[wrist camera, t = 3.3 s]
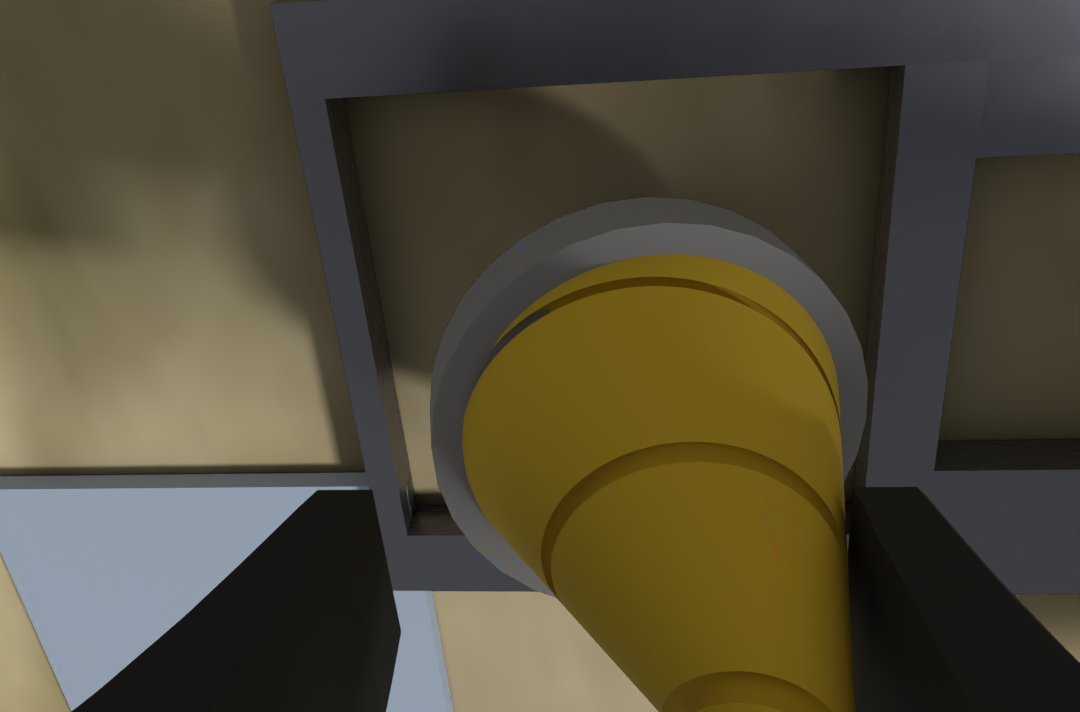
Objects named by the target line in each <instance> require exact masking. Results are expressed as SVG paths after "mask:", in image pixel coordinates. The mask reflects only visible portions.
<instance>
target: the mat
mask: <svg viewBox="0 0 1080 712" xmlns="http://www.w3.org/2000/svg"><path fill="white" fill-rule="evenodd" d="M407 487H408V486H407ZM407 487H406V490H407ZM317 490H369V486H368V481H367V476H366V472H363V473H266V474H170V475H73V476H0V553H1V555H2V557H3V559H4V562H5V564H6V566H7V568H8V570H9V573H10V575H11V577H12V579H13V582H14V584H15V586H16V588H17V591H18V593H19V595H20V597H21V600H22V602H23V604H24V606H25V608H26V611H27V613H28V615H29V617H30V620H31V622H32V624H33V626H34V629H35V631H36V633H37V635H38V638H39V640H40V642H41V644H42V646H43V649H44V651H45V653H46V655H47V658H48V660H49V662H50V664H51V667H52V669H53V671H54V673H55V676H56V678H57V680H58V682H59V685H60V687H61V689H62V691H63V693H64V696H65V698H66V700H67V702H68V705H69V707H70V709H71V711H73V710H74V709H75V708H77V707H78V706H79V705H80V704H82V703H83V702H84V701H85V700H87V699H88V698H89V697H90V696H92V695H93V694H94V693H95V692H97V691H98V690H99V689H100V688H102V687H103V686H104V685H105V684H106V683H107V682H109V681H110V680H111V679H112V678H113V677H114V676H116V675H117V674H118V673H119V672H120V671H121V670H123V669H124V668H125V667H126V666H127V665H128V664H130V663H131V662H132V661H133V660H134V659H135V658H137V657H138V656H139V655H140V654H141V653H142V652H144V651H145V650H146V649H147V648H148V647H149V646H151V645H152V644H153V643H154V642H155V641H156V640H158V639H159V638H160V637H161V636H162V635H163V634H165V633H166V632H167V631H168V630H169V629H170V628H171V627H173V626H174V625H175V624H176V623H177V622H178V621H180V620H181V619H182V618H183V617H184V616H185V615H186V614H187V613H188V612H190V611H191V610H192V609H193V608H194V607H195V606H196V605H197V604H198V603H199V602H200V601H201V600H202V599H203V598H204V597H206V596H207V595H208V594H209V593H210V592H211V591H212V590H213V589H214V588H215V587H216V586H217V585H218V584H219V583H220V582H221V581H223V580H224V579H225V578H226V577H227V576H228V575H229V574H230V573H231V572H232V571H233V570H234V569H235V568H236V567H237V566H239V565H240V564H241V563H242V562H243V561H244V560H245V559H246V558H247V557H248V556H249V555H250V554H251V553H252V552H253V551H254V550H255V549H256V548H257V547H258V546H259V545H260V544H261V543H262V542H263V541H264V540H265V539H266V538H267V537H268V536H269V535H271V534H272V533H273V532H274V531H275V530H276V529H277V528H278V527H279V526H280V525H281V524H282V523H283V522H284V521H285V520H286V519H287V518H288V517H289V516H290V515H291V514H292V513H293V512H294V511H295V510H296V509H297V508H298V507H299V506H301V505H302V504H303V503H304V502H305V501H306V500H307V499H308V498H309V497H310V496H311V495H312V494H314V493H315V492H316V491H317ZM407 491H408V490H407ZM408 494H409V493H408V492H407V496H408V497H409V495H408ZM408 499H409V498H408ZM409 500H410V499H409ZM409 500H408V501H409ZM409 502H410V501H409ZM409 504H410V503H409ZM409 507H410V506H409ZM411 509H412V508H411ZM411 509H410V511H411ZM411 514H412V513H411ZM411 518H412V515H411ZM412 519H413V518H412ZM393 594H394V599H395V603H396V608H397V613H398V618H399V623H400V628H401V636H400V641H399V647H398V653H397V658H396V664H395V669H394V675H393V680H392V685H391V690H390V695H389V700H388V705H387V709H386V712H454V711H453V706H452V700H451V695H450V689H449V683H448V678H447V672H446V667H445V661H444V656H443V650H442V644H441V639H440V633H439V628H438V622H437V617H436V611H435V605H434V600H433V594H432V591H393Z"/></svg>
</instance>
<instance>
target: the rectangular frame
mask: <svg viewBox="0 0 1080 712" xmlns="http://www.w3.org/2000/svg"><path fill="white" fill-rule="evenodd" d="M269 6H270V11H271V16H272V21H273V26H274V31H275V35H276V40H277V45H278V50H279V55H280V60H281V65H282V69H283V74H284V79H285V84H286V89H287V94H288V98H289V103H290V108H291V113H292V118H293V123H294V128H295V132H296V137H297V142H298V147H299V152H300V157H301V161H302V166H303V171H304V176H305V181H306V186H307V191H308V195H309V200H310V205H311V210H312V215H313V220H314V224H315V229H316V234H317V239H318V244H319V249H320V253H321V258H322V263H323V268H324V273H325V278H326V283H327V287H328V292H329V297H330V302H331V307H332V312H333V316H334V321H335V326H336V331H337V336H338V341H339V346H340V350H341V355H342V360H343V365H344V370H345V375H346V379H347V384H348V389H349V394H350V399H351V404H352V408H353V413H354V418H355V423H356V428H357V433H358V438H359V442H360V447H361V452H362V457H363V462H364V467H365V471H366V476H367V481H368V486H369V490H372V491H373V496H374V500H375V505H376V510H377V515H378V520H379V525H380V530H381V535H382V540H383V545H384V550H385V554H386V559H387V564H388V569H389V574H390V579H391V584H392V589H393V591H536V590H533V589H531V588H530V587H528V586H526V585H524V584H523V583H521V582H519V581H517V580H516V579H514V578H512V577H510V576H509V575H507V574H505V573H503V572H502V571H500V570H499V569H498V568H497V567H496V566H495V565H493V564H492V563H491V562H490V561H489V560H488V559H487V558H485V557H484V556H483V555H482V554H481V553H480V552H479V551H478V550H476V549H475V548H474V547H473V545H472V544H471V543H470V541H469V540H468V539H467V537H466V536H465V535H464V533H463V532H462V530H461V529H460V528H459V526H458V525H457V524H456V522H455V521H454V520H453V518H452V516H451V514H450V511H449V509H448V507H447V506H417V505H416V500H415V494H414V488H413V483H412V477H411V472H410V466H409V461H408V455H407V449H406V444H405V438H404V433H403V427H402V422H401V416H400V410H399V405H398V399H397V394H396V388H395V383H394V377H393V371H392V366H391V360H390V355H389V349H388V344H387V338H386V332H385V327H384V321H383V316H382V310H381V305H380V299H379V293H378V288H377V282H376V277H375V271H374V266H373V260H372V254H371V249H370V243H369V238H368V232H367V227H366V221H365V215H364V210H363V204H362V199H361V193H360V187H359V182H358V176H357V171H356V165H355V160H354V154H353V148H352V143H351V137H350V132H349V126H348V121H347V115H346V109H345V104H344V98H349V97H367V96H384V95H401V94H418V93H436V92H453V91H470V90H487V89H504V88H522V87H539V86H556V85H573V84H591V83H608V82H625V81H642V80H660V79H677V78H694V77H711V76H729V75H746V74H763V73H780V72H798V71H815V70H832V69H849V68H867V67H884V66H891V69H890V81H889V92H888V104H887V115H886V126H885V138H884V149H883V161H882V172H881V184H880V195H879V207H878V218H877V229H876V241H875V252H874V264H873V275H872V287H871V298H870V309H869V321H868V332H867V344H866V355H865V369H866V374H867V380H868V394H867V414H866V423H865V427H864V430H863V434H862V438H861V442H860V445H859V449H858V453H857V458H856V470H855V481H854V487H918V488H919V489H920V490H921V491H922V492H923V493H924V494H925V495H926V496H927V497H928V498H929V499H930V501H931V502H932V503H933V504H934V505H935V506H936V508H937V509H938V510H939V511H940V512H941V513H942V515H943V516H944V517H945V518H946V519H947V520H948V522H949V523H950V524H951V525H952V526H953V527H954V529H955V530H956V531H957V532H958V533H959V534H960V536H961V537H962V538H963V539H964V540H965V541H966V542H967V544H968V545H969V546H970V547H971V548H972V549H973V550H974V552H975V553H976V554H977V555H978V556H979V557H980V558H981V559H982V561H983V562H984V563H985V564H986V565H987V566H988V567H989V568H990V569H991V571H992V572H993V573H994V574H995V575H996V576H997V577H998V578H999V580H1000V581H1001V582H1002V583H1003V584H1004V585H1005V586H1006V587H1007V588H1008V589H1009V590H1010V591H1011V593H1012V594H1080V439H1069V440H993V441H938V438H939V431H940V423H941V416H942V408H943V401H944V393H945V386H946V379H947V371H948V364H949V356H950V349H951V341H952V334H953V327H954V319H955V312H956V304H957V297H958V289H959V282H960V275H961V267H962V260H963V252H964V245H965V237H966V230H967V223H968V215H969V208H970V200H971V193H972V185H973V178H974V171H975V163H976V158H986V157H1007V156H1029V155H1050V154H1072V153H1080V0H276V1H274V2H273V3H271V4H269ZM407 486H408V487H407ZM406 487H407V490H408V491H407V490H406ZM407 492H408V493H409V494H408V495H409V497H408V496H407ZM408 498H409V499H410V500H409V499H408ZM408 500H409V501H410V502H409V501H408ZM409 503H410V504H409ZM409 506H410V507H409ZM411 508H412V509H411ZM410 509H411V511H410ZM851 510H852V504H845V518H846V537H847V556H848V544H849V533H850V521H851ZM411 513H412V514H411ZM411 515H412V518H413V519H412V518H411Z"/></svg>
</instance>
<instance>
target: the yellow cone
mask: <svg viewBox="0 0 1080 712" xmlns="http://www.w3.org/2000/svg"><path fill="white" fill-rule="evenodd" d="M867 394H868V380H867V374H866V369H865V363H864V357H863V352H862V346H861V344H860V342H859V339H858V337H857V335H856V333H855V330H854V328H853V326H852V323H851V321H850V319H849V316H848V314H847V312H846V311H845V309H844V308H843V307H842V305H841V304H840V303H839V301H838V300H837V299H836V297H835V296H834V295H833V293H832V292H831V291H830V289H829V288H828V287H827V285H826V284H825V283H824V281H823V280H822V279H821V278H820V277H819V276H818V275H817V274H816V273H815V272H814V271H813V270H812V269H811V268H810V267H809V266H808V265H807V264H806V263H805V262H804V261H803V260H802V259H801V258H800V257H799V256H798V255H797V254H796V253H795V252H794V251H793V250H792V249H791V248H789V247H788V246H787V245H786V244H785V243H783V242H782V241H781V240H780V239H778V238H777V237H776V236H775V235H774V234H772V233H771V232H770V231H769V230H768V229H766V228H765V227H763V226H761V225H759V224H757V223H755V222H753V221H751V220H749V219H747V218H745V217H743V216H741V215H739V214H737V213H735V212H733V211H731V210H729V209H725V208H721V207H717V206H713V205H710V204H706V203H702V202H698V201H695V200H691V199H676V198H659V197H641V198H634V199H627V200H619V201H612V202H604V203H600V204H597V205H594V206H591V207H588V208H585V209H582V210H579V211H576V212H573V213H570V214H567V215H564V216H561V217H559V218H557V219H556V220H554V221H552V222H550V223H548V224H547V225H545V226H543V227H541V228H539V229H538V230H536V231H534V232H532V233H530V234H529V235H527V236H525V237H523V238H521V239H520V240H519V241H518V242H517V243H515V244H514V245H513V246H512V247H511V248H509V249H508V250H507V251H506V252H505V253H503V254H502V255H501V256H500V257H499V258H497V259H496V260H495V261H494V262H493V263H491V264H490V265H489V266H488V267H487V268H486V269H485V271H484V272H483V273H482V274H481V275H480V277H479V278H478V279H477V280H476V282H475V283H474V284H473V285H472V286H471V288H470V289H469V290H468V291H467V293H466V294H465V295H464V296H463V298H462V299H461V300H460V302H459V304H458V306H457V308H456V310H455V312H454V314H453V316H452V318H451V320H450V321H449V323H448V325H447V327H446V329H445V331H444V333H443V335H442V338H441V342H440V345H439V349H438V353H437V356H436V360H435V363H434V367H433V371H432V383H431V402H430V420H431V448H432V454H433V460H434V465H435V471H436V477H437V482H438V486H439V488H440V491H441V493H442V495H443V498H444V500H445V502H446V504H447V507H448V509H449V511H450V514H451V516H452V518H453V520H454V521H455V522H456V524H457V525H458V526H459V528H460V529H461V530H462V532H463V533H464V535H465V536H466V537H467V539H468V540H469V541H470V543H471V544H472V545H473V547H474V548H475V549H476V550H478V551H479V552H480V553H481V554H482V555H483V556H484V557H485V558H487V559H488V560H489V561H490V562H491V563H492V564H493V565H495V566H496V567H497V568H498V569H499V570H500V571H502V572H503V573H505V574H507V575H509V576H510V577H512V578H514V579H516V580H517V581H519V582H521V583H523V584H524V585H526V586H528V587H530V588H531V589H533V590H536V591H539V592H542V593H545V594H548V595H550V596H553V597H556V598H557V599H558V600H559V601H560V602H561V603H562V604H563V605H564V606H565V608H566V609H567V610H568V611H569V612H570V613H571V614H572V615H573V617H574V618H575V619H576V620H577V621H578V622H579V623H580V624H581V625H582V627H583V628H584V629H585V630H586V631H587V632H588V633H589V634H590V636H591V637H592V638H593V639H594V640H595V641H596V642H597V643H598V644H599V646H600V647H601V648H602V649H603V650H604V651H605V652H606V653H607V654H608V656H609V657H610V658H611V659H612V660H613V661H614V662H615V663H616V664H617V666H618V667H619V668H620V669H621V670H622V671H623V672H624V673H625V674H626V676H627V677H628V678H629V679H630V680H631V681H632V682H633V683H634V685H635V686H636V687H637V688H638V689H639V690H640V691H641V692H642V693H643V695H644V696H645V697H646V698H647V699H648V700H649V701H650V702H651V703H652V705H653V706H654V707H655V708H656V709H657V710H658V711H659V712H856V706H855V687H854V668H853V649H852V630H851V611H850V592H849V579H848V556H847V537H846V518H845V499H844V481H845V479H846V477H847V475H848V473H849V471H850V469H851V467H852V465H853V463H854V461H855V459H856V457H857V453H858V449H859V445H860V442H861V438H862V434H863V430H864V427H865V423H866V414H867Z"/></svg>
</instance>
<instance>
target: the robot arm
mask: <svg viewBox="0 0 1080 712" xmlns="http://www.w3.org/2000/svg"><path fill="white" fill-rule="evenodd" d="M848 579H849V592H850V611H851V630H852V649H853V668H854V687H855V706H856V712H1080V663H1079V662H1078V661H1077V660H1076V659H1075V658H1074V657H1073V656H1072V655H1071V654H1070V653H1069V652H1068V651H1067V650H1066V649H1065V648H1064V647H1063V646H1062V645H1061V644H1060V643H1059V641H1058V640H1057V639H1056V638H1055V637H1054V636H1053V635H1052V634H1051V633H1050V632H1049V631H1048V630H1047V629H1046V628H1045V627H1044V626H1043V625H1042V624H1041V623H1040V622H1039V621H1038V620H1037V619H1036V618H1035V617H1034V616H1033V615H1032V614H1031V613H1030V612H1029V611H1028V609H1027V608H1026V607H1025V606H1024V605H1023V604H1022V603H1021V602H1020V601H1019V600H1018V599H1017V598H1016V597H1015V596H1014V595H1013V594H1012V593H1011V591H1010V590H1009V589H1008V588H1007V587H1006V586H1005V585H1004V584H1003V583H1002V582H1001V581H1000V580H999V578H998V577H997V576H996V575H995V574H994V573H993V572H992V571H991V569H990V568H989V567H988V566H987V565H986V564H985V563H984V562H983V561H982V559H981V558H980V557H979V556H978V555H977V554H976V553H975V552H974V550H973V549H972V548H971V547H970V546H969V545H968V544H967V542H966V541H965V540H964V539H963V538H962V537H961V536H960V534H959V533H958V532H957V531H956V530H955V529H954V527H953V526H952V525H951V524H950V523H949V522H948V520H947V519H946V518H945V517H944V516H943V515H942V513H941V512H940V511H939V510H938V509H937V508H936V506H935V505H934V504H933V503H932V502H931V501H930V499H929V498H928V497H927V496H926V495H925V494H924V493H923V492H922V491H921V490H920V489H919V488H918V487H853V498H852V510H851V521H850V533H849V544H848ZM400 636H401V628H400V623H399V618H398V613H397V608H396V603H395V599H394V594H393V589H392V584H391V579H390V574H389V569H388V564H387V559H386V554H385V550H384V545H383V540H382V535H381V530H380V525H379V520H378V515H377V510H376V505H375V500H374V496H373V491H372V490H317V491H316V492H315V493H314V494H312V495H311V496H310V497H309V498H308V499H307V500H306V501H305V502H304V503H303V504H302V505H301V506H299V507H298V508H297V509H296V510H295V511H294V512H293V513H292V514H291V515H290V516H289V517H288V518H287V519H286V520H285V521H284V522H283V523H282V524H281V525H280V526H279V527H278V528H277V529H276V530H275V531H274V532H273V533H272V534H271V535H269V536H268V537H267V538H266V539H265V540H264V541H263V542H262V543H261V544H260V545H259V546H258V547H257V548H256V549H255V550H254V551H253V552H252V553H251V554H250V555H249V556H248V557H247V558H246V559H245V560H244V561H243V562H242V563H241V564H240V565H239V566H237V567H236V568H235V569H234V570H233V571H232V572H231V573H230V574H229V575H228V576H227V577H226V578H225V579H224V580H223V581H221V582H220V583H219V584H218V585H217V586H216V587H215V588H214V589H213V590H212V591H211V592H210V593H209V594H208V595H207V596H206V597H204V598H203V599H202V600H201V601H200V602H199V603H198V604H197V605H196V606H195V607H194V608H193V609H192V610H191V611H190V612H188V613H187V614H186V615H185V616H184V617H183V618H182V619H181V620H180V621H178V622H177V623H176V624H175V625H174V626H173V627H171V628H170V629H169V630H168V631H167V632H166V633H165V634H163V635H162V636H161V637H160V638H159V639H158V640H156V641H155V642H154V643H153V644H152V645H151V646H149V647H148V648H147V649H146V650H145V651H144V652H142V653H141V654H140V655H139V656H138V657H137V658H135V659H134V660H133V661H132V662H131V663H130V664H128V665H127V666H126V667H125V668H124V669H123V670H121V671H120V672H119V673H118V674H117V675H116V676H114V677H113V678H112V679H111V680H110V681H109V682H107V683H106V684H105V685H104V686H103V687H102V688H100V689H99V690H98V691H97V692H95V693H94V694H93V695H92V696H90V697H89V698H88V699H87V700H85V701H84V702H83V703H82V704H80V705H79V706H78V707H77V708H75V709H74V710H73V711H71V712H386V709H387V705H388V700H389V695H390V690H391V685H392V680H393V675H394V669H395V664H396V658H397V653H398V647H399V641H400Z"/></svg>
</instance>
